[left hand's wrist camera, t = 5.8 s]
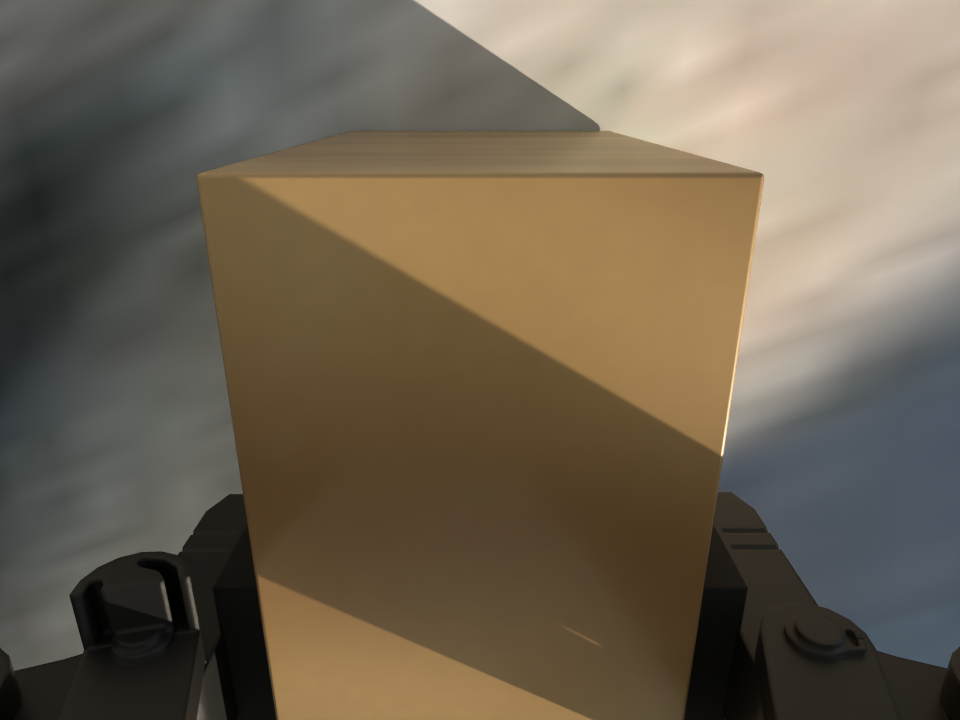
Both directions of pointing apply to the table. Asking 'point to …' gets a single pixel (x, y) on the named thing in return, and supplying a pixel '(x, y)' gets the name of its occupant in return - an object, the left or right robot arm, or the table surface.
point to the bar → (480, 414)
